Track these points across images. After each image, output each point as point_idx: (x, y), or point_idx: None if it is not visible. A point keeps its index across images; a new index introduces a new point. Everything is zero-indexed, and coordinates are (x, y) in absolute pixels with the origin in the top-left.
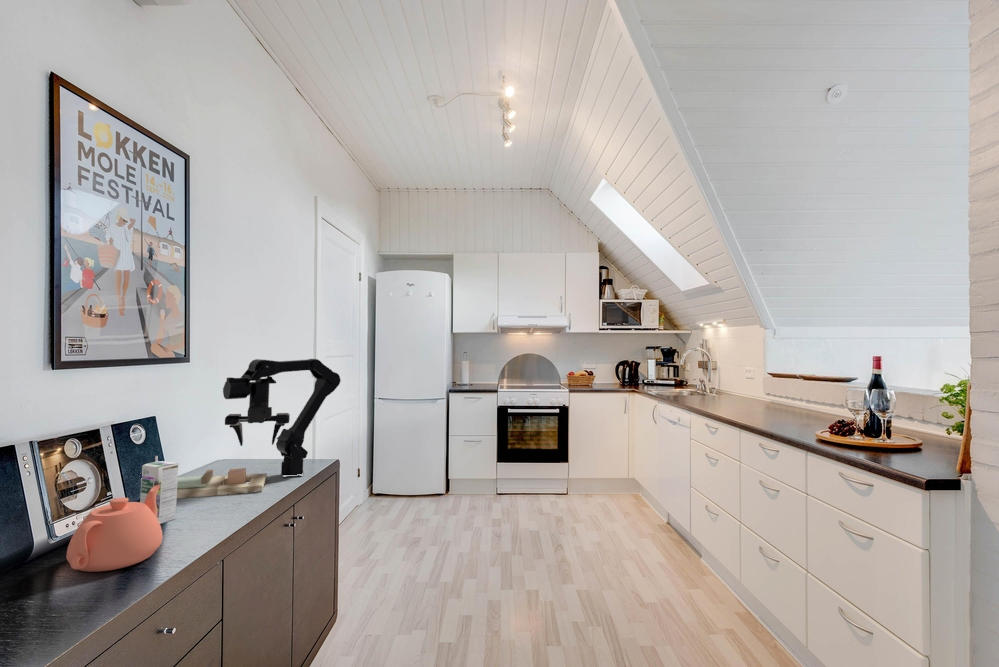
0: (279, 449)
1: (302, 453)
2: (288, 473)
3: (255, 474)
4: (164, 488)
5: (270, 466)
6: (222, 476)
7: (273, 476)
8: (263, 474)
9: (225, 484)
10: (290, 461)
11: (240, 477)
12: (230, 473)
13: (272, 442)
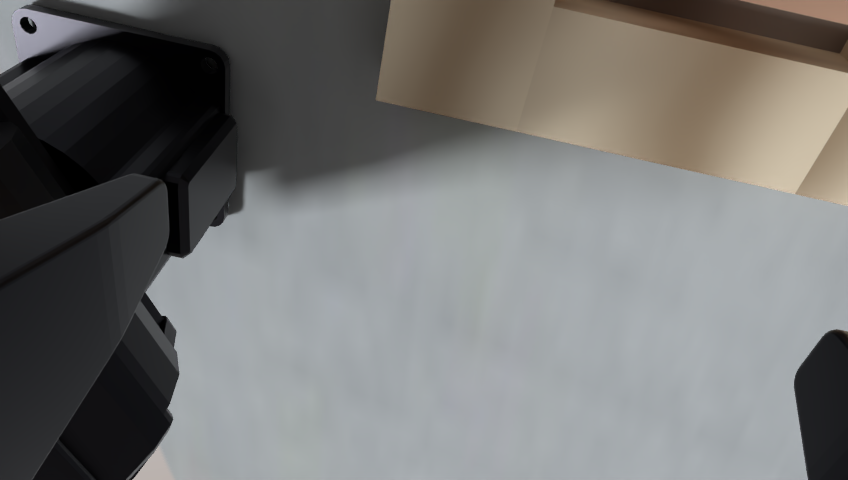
0: (138, 312)
1: None
2: (154, 71)
3: (499, 106)
4: None
5: (333, 448)
6: (842, 179)
7: (317, 159)
8: (415, 62)
9: None
10: (58, 121)
11: None
12: None
13: (123, 191)
